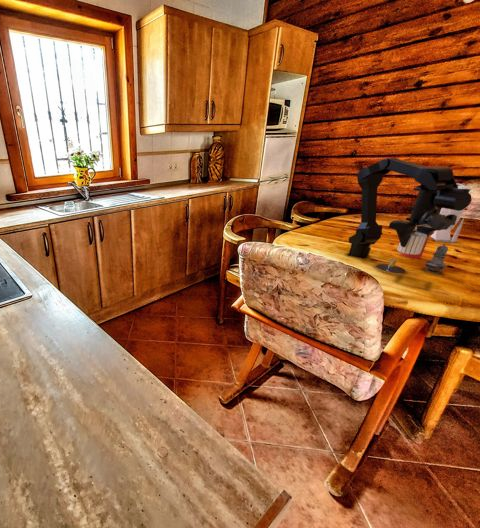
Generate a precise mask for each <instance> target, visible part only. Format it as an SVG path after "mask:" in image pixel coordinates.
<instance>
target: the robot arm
mask: <svg viewBox="0 0 480 528" xmlns="http://www.w3.org/2000/svg"><path fill="white" fill-rule="evenodd" d="M453 171H454V169H452V168H451V167H446V166H425V165H421V164H418V163H414V162H410V161H406V160H403V159H399V158H397V157H386V158H383V159H381V160H380V161H378V162H375V163H373V164H370V165H368V166H366V167H363V168H361V169H360V170H359V171H358V172H357V174H356V178H357V184H358V186H359V187H360V189H361V210H360V211H361V215H360V223H359V225H358V226H357V228H356V229H355V234H353V235H351V236H350V237H348V243H349V244H350V249H349V251H348V253H347V256H348V257H354V258H358V259H363V260H365V259H366V258H368V257H369V256H370V253H371V250H372V247H371V245H375V244H376V243H377V242H378V241H379V240H380V239H382V238H381V237H382V236H383V225H382V224H379V223H378V222H377V208H378V207H377V205H378V204H377V203H378V188H379V186H380V185H381V184H382V182H383V179H384V177H385V175H387V174H389V173H390V172H394V173H398V174H401V175H404V176H407V177H410V178H412V179H414V181H415V182H417V183H418V184H419V185H418V186H416V187H414V188H413V189H412V190H413V191H415V192H416V191H417V192H418V194H417V196H416V199H415V202H414V205H413V206H410V207H409V210H411V213H410V216H407V217H406V218H405V220H404V219H398V220H395V219H394V220H392V221H389V224H388V228H389V229H392V230H395V233H396V235H397V237H398V240H399V243H400V244H401V246H402V247H405V246H406V244H407V243H408V241H409V239H410V237H411V235H412V234H414V233H416V232H418V233H422V234H426V235H427V237H428V236H429V237H430V236H431V235H432V234H433V233H434V232H435V231H436V230H438V231H439V230H444V229H445V230H447V229H448V228H449V227H450V226H451V225H455V222H456V219H457V216H456V215H454V214H451V215H447V216H445V215H441V214H440V211H441V209H442V208H446V209H452V210H457V211H460V210H463V209H464V210H465V209H467V208H468V207H469V205H471V203H472V201H473V199H472V195H471V193H470V192H471V191H470V189H458V186H459V185H457V181H456V179H455V176H454V172H453ZM469 191H470V192H469ZM455 226H456V225H455ZM414 229H417V231H413V230H414ZM427 237H426V238H427Z"/></svg>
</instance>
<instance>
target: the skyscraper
mask: <svg viewBox="0 0 480 528" xmlns="http://www.w3.org/2000/svg"><path fill="white" fill-rule="evenodd" d="M456 183H457V182H456ZM457 186H458V189H470V191H469V193H470V192H471V191H472V190H473V187H472V186H468V185H464V184H462V183H457ZM464 212H465V209H463V210H460V211H457V210H452V209H446V208H440V212H439V214H441V215H445V216H447V215H451V214H454V215H456V216H457V219H456V222H455V225H451V226H450V227H449V228H448V229H447V230H445V229H444V230H439V231H438V230H436V231H434V232H432V233H431V234H430V236H429V239H432V240H434V241H436V242H437V243H451V244H452V243H453V244H454V243H456V244H457V243H458V241H457V240H458V238H459V236H460V235H459V234H460V232H461V230H462V228H463V224H464V219H465V216H463V214H464ZM462 216H463V218H462ZM461 218H462V220H461ZM459 221H460V223H459ZM458 223H459V225H457V224H458ZM456 225H457V227H456V230H455V231H454V234H453V235H452V238H451V232H452V230H453V229H454V228H455V226H456Z"/></svg>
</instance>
